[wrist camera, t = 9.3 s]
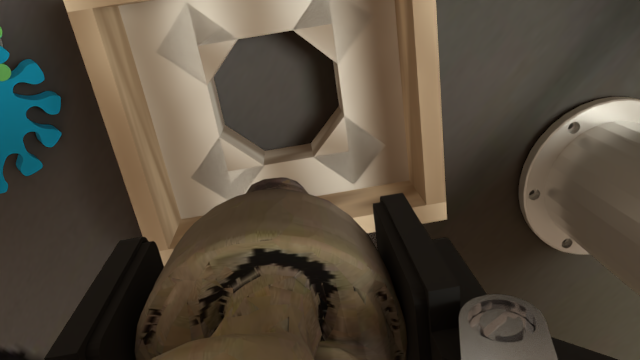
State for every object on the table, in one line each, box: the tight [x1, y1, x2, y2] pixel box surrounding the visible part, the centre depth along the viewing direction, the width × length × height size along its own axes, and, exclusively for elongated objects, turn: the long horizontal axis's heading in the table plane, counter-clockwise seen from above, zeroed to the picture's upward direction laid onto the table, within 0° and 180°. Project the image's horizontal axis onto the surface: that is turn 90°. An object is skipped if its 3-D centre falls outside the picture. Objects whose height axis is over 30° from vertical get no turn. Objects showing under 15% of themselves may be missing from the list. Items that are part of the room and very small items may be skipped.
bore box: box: [63, 0, 447, 266], centre depth 29 cm, size 18×16×7 cm
